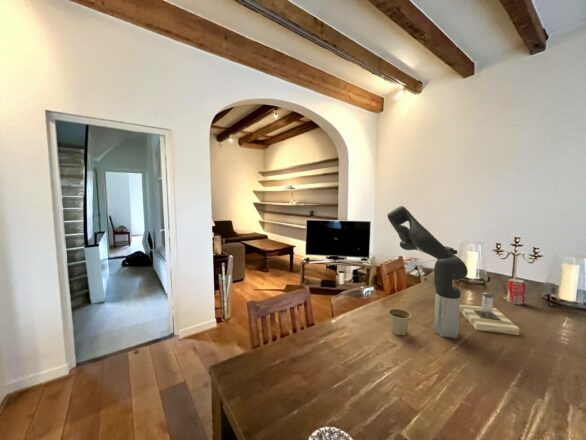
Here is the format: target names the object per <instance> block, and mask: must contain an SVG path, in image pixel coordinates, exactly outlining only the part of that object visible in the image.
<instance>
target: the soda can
mask: <svg viewBox="0 0 586 440" xmlns="http://www.w3.org/2000/svg"><path fill="white" fill-rule="evenodd" d="M525 290H526V284H525V280H523V279H519V278H509V280H508V282H507V294H506V297H507V299H506V300H507V302H508V303H510V304H513V305H518V306H519V305H520V306H521V305H523V304H524V303H525V293H526V291H525Z"/></svg>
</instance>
